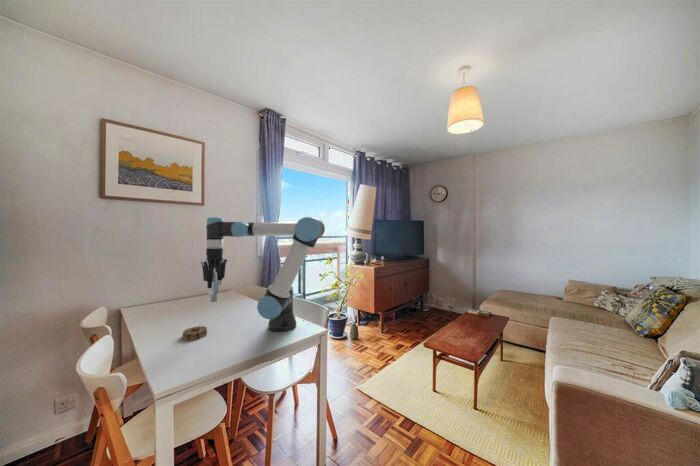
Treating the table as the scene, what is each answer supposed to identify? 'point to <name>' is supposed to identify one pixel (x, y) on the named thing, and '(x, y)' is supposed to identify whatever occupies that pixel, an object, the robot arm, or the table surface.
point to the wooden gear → (194, 333)
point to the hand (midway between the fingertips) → (214, 293)
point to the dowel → (214, 297)
